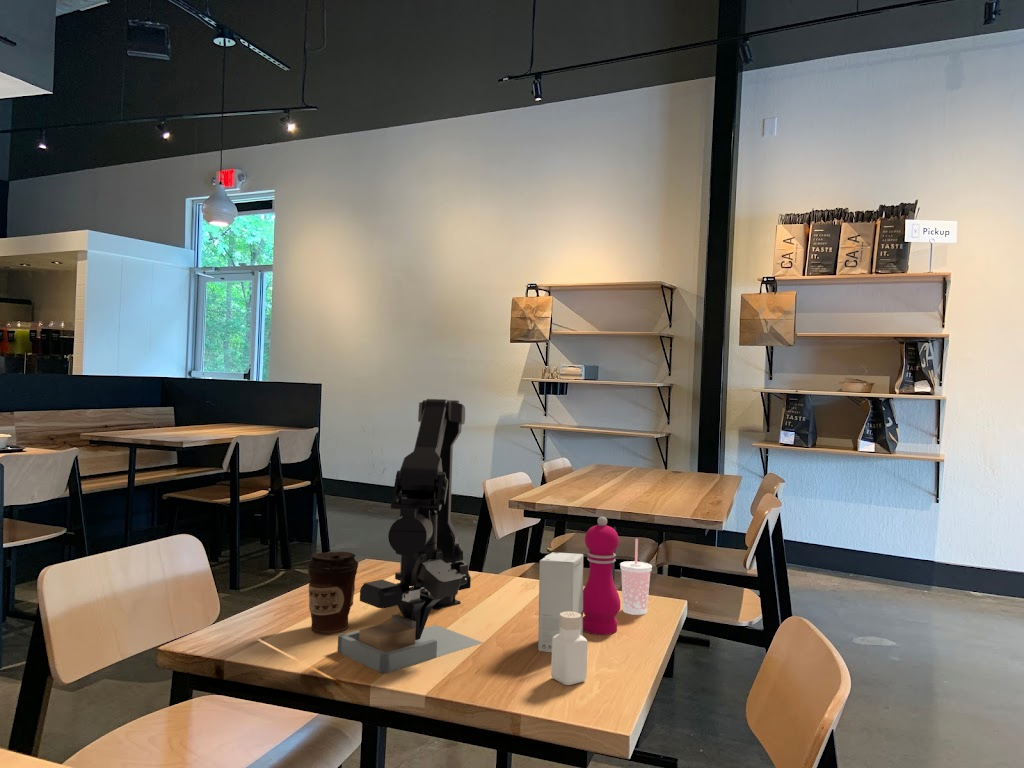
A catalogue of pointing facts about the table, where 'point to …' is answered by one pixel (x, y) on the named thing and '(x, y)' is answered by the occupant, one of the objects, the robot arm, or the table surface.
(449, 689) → the table surface
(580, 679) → the salt shaker
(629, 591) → the beverage cup
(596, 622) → the pepper mill
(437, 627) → the dock
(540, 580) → the skincare box
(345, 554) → the coffee cup
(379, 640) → the block
